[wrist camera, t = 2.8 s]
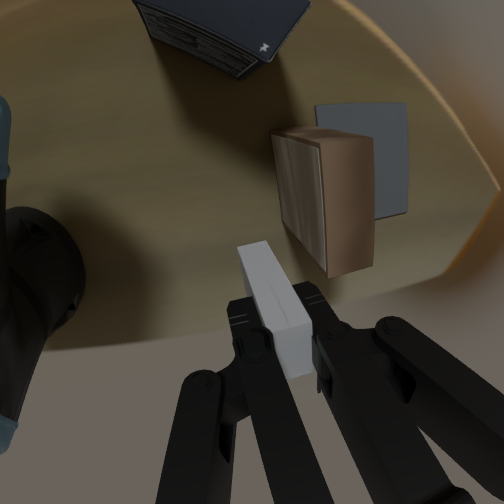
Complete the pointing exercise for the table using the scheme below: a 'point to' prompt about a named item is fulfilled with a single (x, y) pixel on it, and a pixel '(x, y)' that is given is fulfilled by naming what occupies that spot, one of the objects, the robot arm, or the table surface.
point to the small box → (224, 29)
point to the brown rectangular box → (327, 194)
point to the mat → (377, 146)
